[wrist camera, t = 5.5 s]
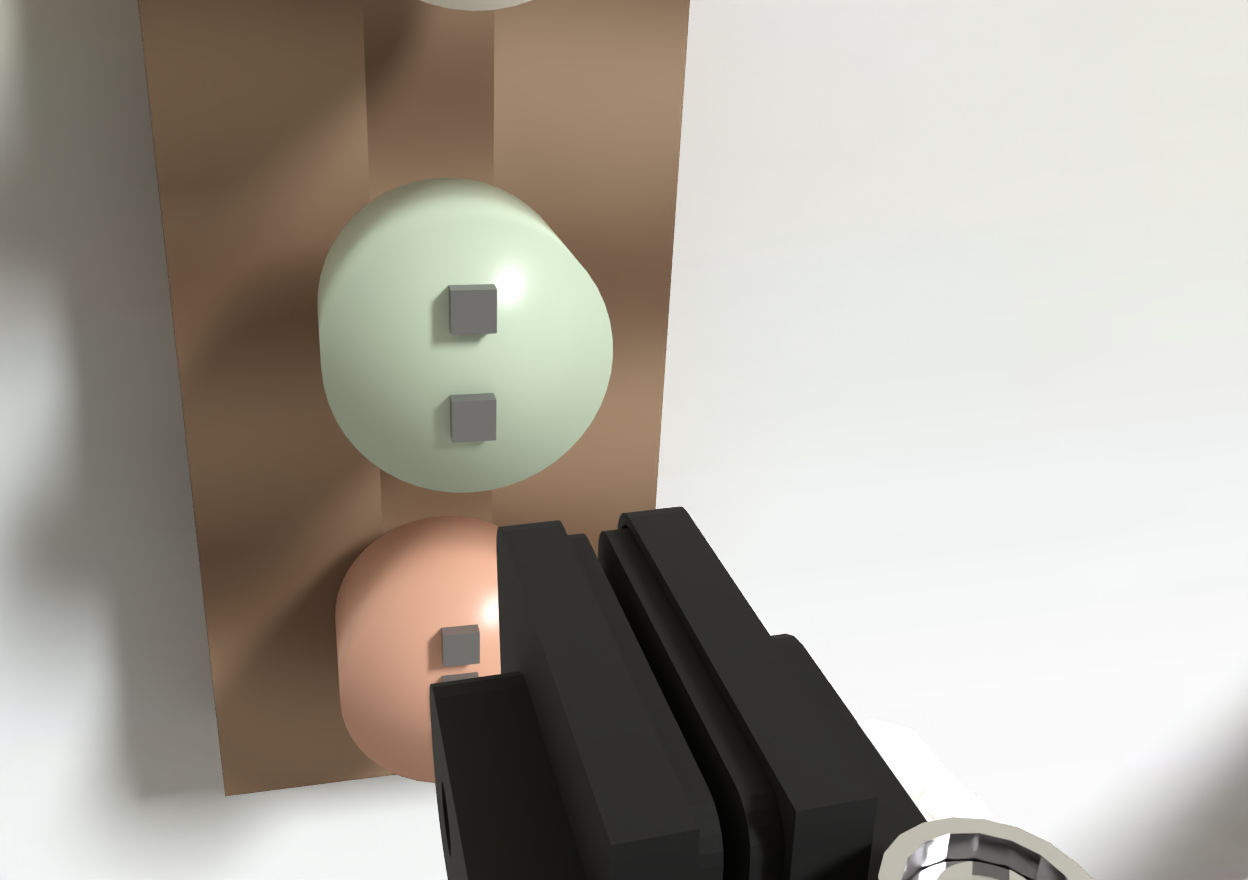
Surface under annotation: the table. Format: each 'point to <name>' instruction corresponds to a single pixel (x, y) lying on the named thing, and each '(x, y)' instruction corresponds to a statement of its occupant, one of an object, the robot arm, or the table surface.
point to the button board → (290, 273)
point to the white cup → (924, 774)
